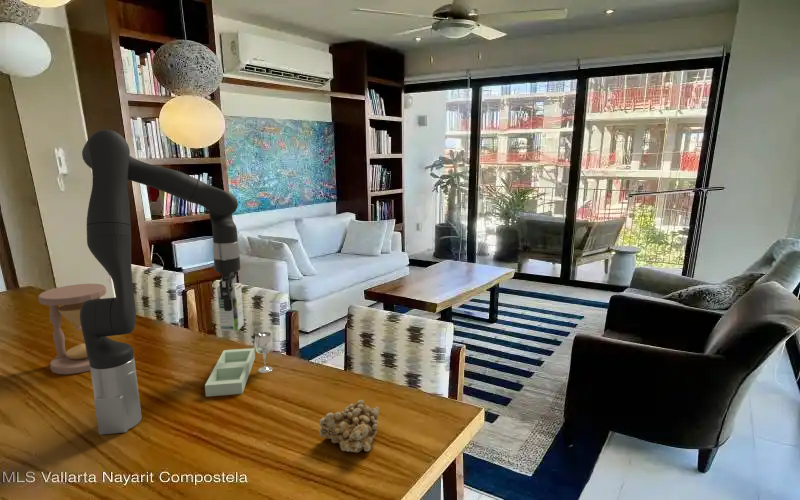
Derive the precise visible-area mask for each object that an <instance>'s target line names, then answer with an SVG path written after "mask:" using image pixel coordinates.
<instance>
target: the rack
mask: <svg viewBox="0 0 800 500" xmlns="http://www.w3.org/2000/svg"><path fill="white" fill-rule="evenodd" d="M255 359H256V350H255V347H252V348H235V349H224V350H223V351H222V353H221V355H220V357H219V358H218V360H217V362H216V364H215V366H214V368H213V370H212V371H211V372H210V375H209V377H208V379H207V380H206V382H205V384H204V391H205V397H218V396H229V395H230V396H231V395H241V394H243V393H244V391H245V387H246V384H247V382H248V379H249V376H250V373H251V370H252V368H253V365H254V362H255Z"/></svg>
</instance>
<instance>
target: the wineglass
mask: <svg viewBox="0 0 800 500" xmlns="http://www.w3.org/2000/svg"><path fill="white" fill-rule="evenodd" d="M273 339H274V338H273V336H272V334H271V332H269V331H261V332H258V333H256V334H255V337H254V344H253V345H254V346H253V348H255V353H256V352H257V354H259V355H262V358H263V362H264V365H263V366H262V367H259V369H258V372H259V373H262V374H266V373H270V372H271V371H273V369H274V368H273V367H272V366H268V365H267V360H266V359H267V354H269V353H270V352H272V351H273V348H274V340H273Z"/></svg>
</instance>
